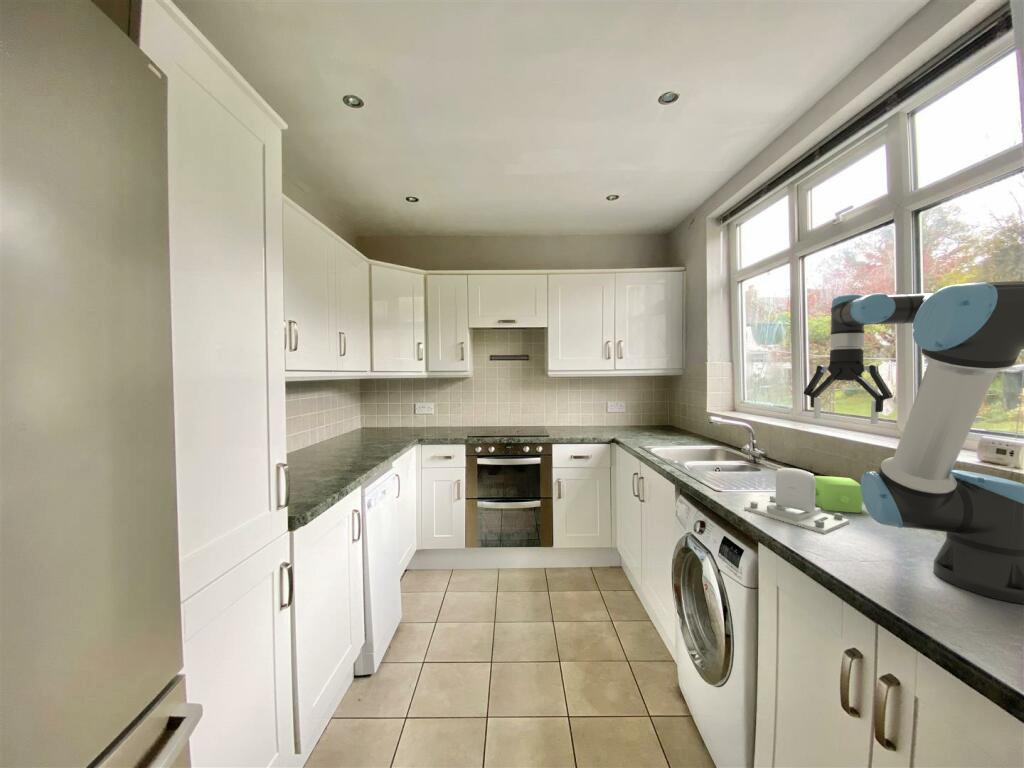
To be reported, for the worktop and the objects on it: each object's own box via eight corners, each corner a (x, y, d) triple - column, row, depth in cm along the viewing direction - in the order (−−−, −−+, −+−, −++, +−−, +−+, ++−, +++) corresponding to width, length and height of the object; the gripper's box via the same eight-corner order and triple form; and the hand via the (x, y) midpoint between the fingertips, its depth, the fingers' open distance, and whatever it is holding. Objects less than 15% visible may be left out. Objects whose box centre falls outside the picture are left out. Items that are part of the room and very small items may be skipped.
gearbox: (808, 511, 128) (808, 483, 128) (796, 500, 138) (797, 474, 137) (876, 517, 123) (877, 487, 122) (859, 505, 132) (860, 478, 131)
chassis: (849, 523, 117) (849, 514, 117) (824, 533, 109) (824, 525, 109) (770, 501, 136) (770, 494, 136) (744, 509, 128) (744, 502, 128)
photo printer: (773, 505, 125) (774, 466, 124) (777, 502, 128) (778, 464, 127) (812, 514, 117) (813, 473, 116) (816, 511, 120) (818, 471, 119)
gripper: (909, 347, 106) (906, 425, 106) (803, 351, 127) (801, 416, 128) (899, 346, 102) (896, 427, 103) (792, 350, 123) (790, 417, 124)
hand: (844, 421), depth 115 cm, fingers open, 13 cm apart
